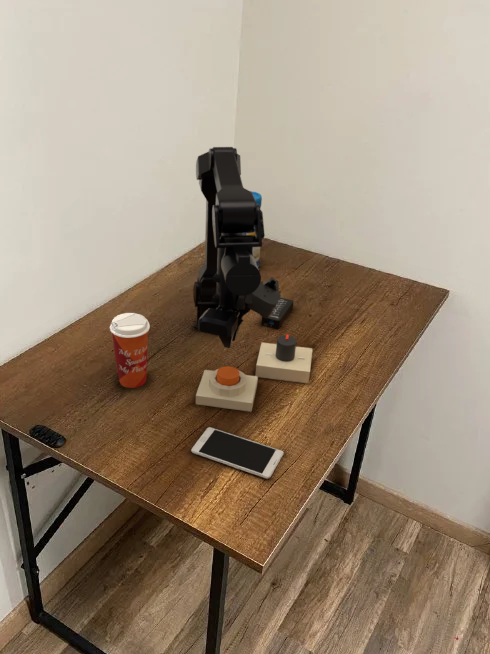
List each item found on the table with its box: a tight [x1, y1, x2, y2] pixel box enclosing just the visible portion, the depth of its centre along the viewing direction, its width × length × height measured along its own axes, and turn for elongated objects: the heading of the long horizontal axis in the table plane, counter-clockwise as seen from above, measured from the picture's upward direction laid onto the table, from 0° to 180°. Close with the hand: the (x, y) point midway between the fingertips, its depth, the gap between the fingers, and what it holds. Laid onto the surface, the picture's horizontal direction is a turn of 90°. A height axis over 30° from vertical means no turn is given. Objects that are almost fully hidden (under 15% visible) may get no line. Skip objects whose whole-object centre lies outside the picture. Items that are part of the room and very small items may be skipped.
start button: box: [216, 365, 240, 386], centre depth 123 cm, size 4×4×2 cm
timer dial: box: [276, 333, 297, 362], centre depth 131 cm, size 4×4×4 cm
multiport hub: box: [260, 297, 295, 330], centre depth 151 cm, size 4×11×2 cm, turn 155°
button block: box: [195, 368, 259, 413], centre depth 125 cm, size 11×9×4 cm
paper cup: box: [109, 312, 151, 389], centre depth 125 cm, size 8×8×14 cm
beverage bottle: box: [244, 190, 263, 268], centre depth 169 cm, size 8×8×20 cm
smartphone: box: [190, 426, 285, 480], centre depth 111 cm, size 8×1×15 cm
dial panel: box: [254, 342, 313, 384], centre depth 133 cm, size 11×9×3 cm
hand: (229, 343), depth 119 cm, fingers closed
